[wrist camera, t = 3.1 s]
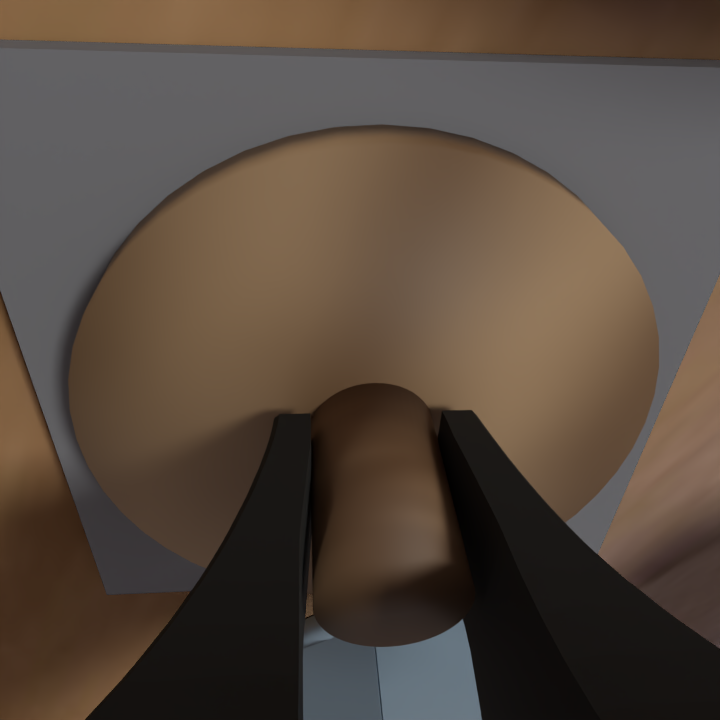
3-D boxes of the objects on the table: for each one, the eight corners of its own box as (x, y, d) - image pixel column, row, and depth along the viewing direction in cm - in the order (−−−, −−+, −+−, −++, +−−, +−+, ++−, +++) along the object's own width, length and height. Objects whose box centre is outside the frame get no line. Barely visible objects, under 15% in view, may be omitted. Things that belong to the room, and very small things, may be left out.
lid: (726, 127, 11) (971, 268, 7) (566, 553, 18) (641, 740, 14) (4, 120, 10) (-194, 278, 6) (138, 572, 17) (91, 780, 13)
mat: (786, 61, 11) (808, 70, 10) (582, 556, 19) (589, 573, 19) (-67, 37, 10) (-85, 45, 9) (112, 576, 18) (107, 594, 18)
